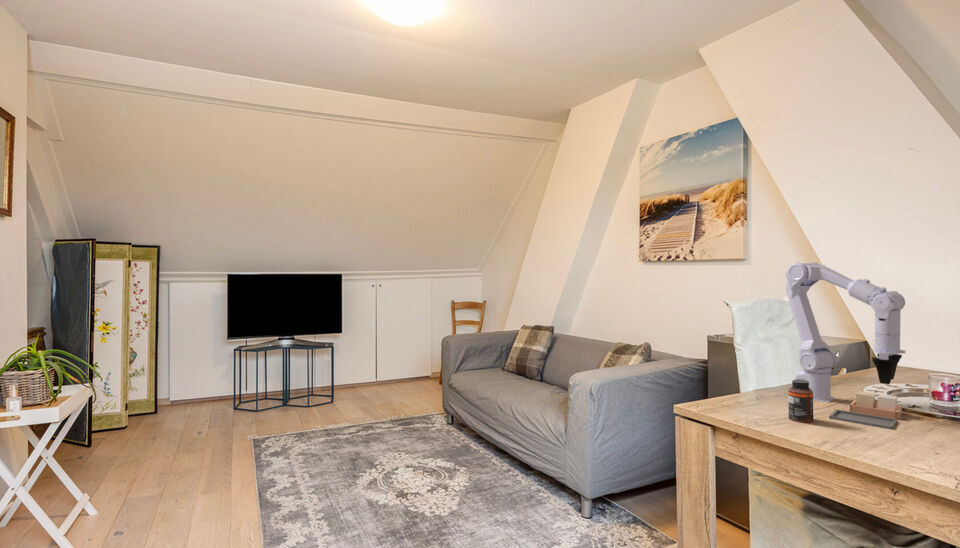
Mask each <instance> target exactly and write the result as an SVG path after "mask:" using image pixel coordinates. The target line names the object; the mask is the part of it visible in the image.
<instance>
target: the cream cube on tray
mask: <svg viewBox="0 0 960 548" xmlns="http://www.w3.org/2000/svg"><path fill="white" fill-rule="evenodd" d="M876 399H877V400H876V402H877V409H883V410H889V411H896V410H897V405H898V396H896V395H890V394H883V393H882V394H881V393H879V394H878V396H877V398H876Z"/></svg>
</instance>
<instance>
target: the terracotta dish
mask: <svg viewBox="0 0 960 548" xmlns="http://www.w3.org/2000/svg"><path fill="white" fill-rule="evenodd" d="M849 412H855V413H861V414H867V415H873V416H880V417H886V418H892V419H897V421H899V419H900V417H901V415H902V414H903V405H900V404H897V410H896V411H889V410H883V409H877V401H875V408H870V407H864V406H857V405H856V398H855V399H853V401H852V402H851V403H850V404H849Z"/></svg>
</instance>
